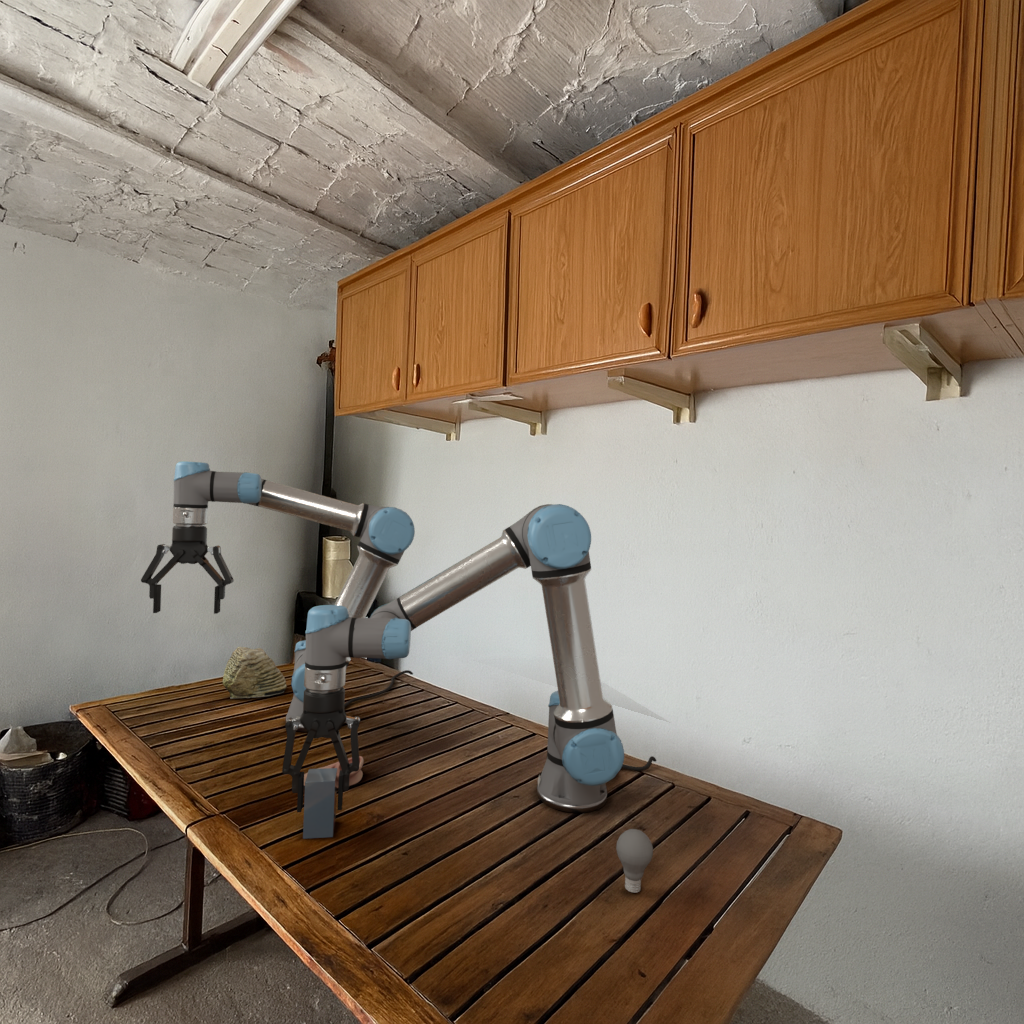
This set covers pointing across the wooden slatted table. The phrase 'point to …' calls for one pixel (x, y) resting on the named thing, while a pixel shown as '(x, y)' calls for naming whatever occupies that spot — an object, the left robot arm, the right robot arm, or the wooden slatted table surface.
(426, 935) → the wooden slatted table surface
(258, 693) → the fossil
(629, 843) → the light bulb
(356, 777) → the anatomical model
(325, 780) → the brick
